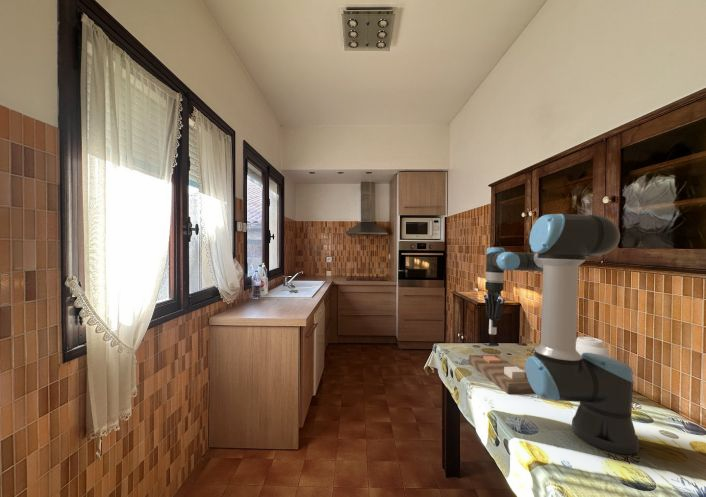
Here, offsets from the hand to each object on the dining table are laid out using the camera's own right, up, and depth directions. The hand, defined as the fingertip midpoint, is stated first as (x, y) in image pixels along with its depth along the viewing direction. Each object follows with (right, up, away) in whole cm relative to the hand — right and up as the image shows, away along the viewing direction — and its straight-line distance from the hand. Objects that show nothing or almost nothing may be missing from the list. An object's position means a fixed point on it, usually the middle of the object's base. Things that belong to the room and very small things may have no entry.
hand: (492, 333), depth 139 cm
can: (+31, -18, -16) cm, 39 cm away
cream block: (+1, -14, -16) cm, 21 cm away
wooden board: (0, -16, -8) cm, 18 cm away
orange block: (-1, -16, 0) cm, 16 cm away
